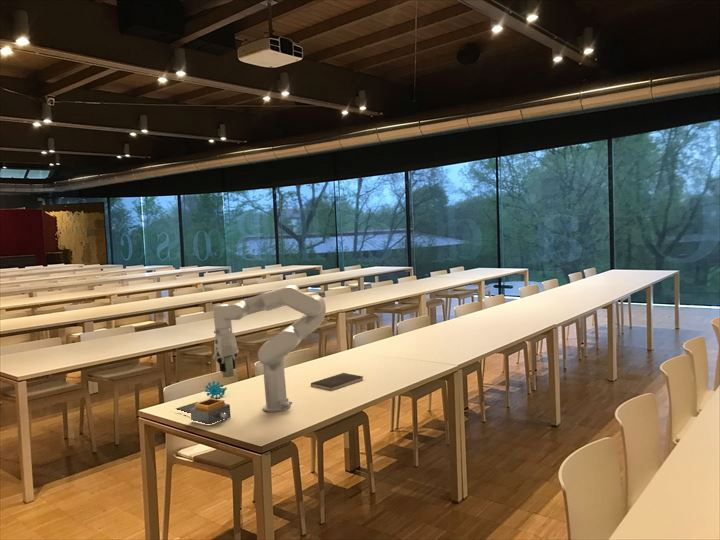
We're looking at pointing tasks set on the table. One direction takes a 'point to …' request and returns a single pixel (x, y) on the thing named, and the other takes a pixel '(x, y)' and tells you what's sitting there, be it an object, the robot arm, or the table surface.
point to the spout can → (228, 367)
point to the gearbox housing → (210, 411)
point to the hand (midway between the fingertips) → (227, 369)
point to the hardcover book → (337, 381)
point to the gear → (215, 390)
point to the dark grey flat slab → (187, 407)
